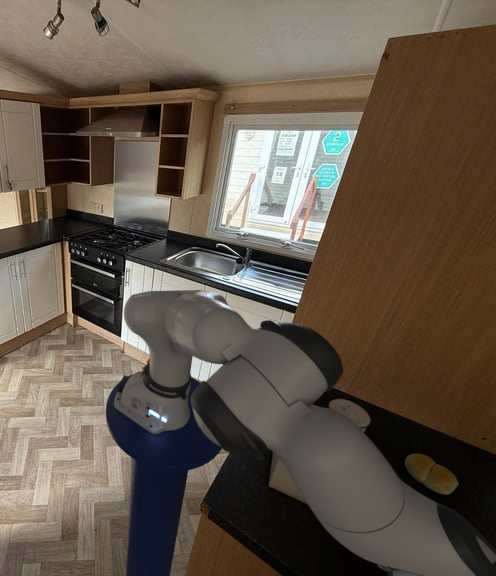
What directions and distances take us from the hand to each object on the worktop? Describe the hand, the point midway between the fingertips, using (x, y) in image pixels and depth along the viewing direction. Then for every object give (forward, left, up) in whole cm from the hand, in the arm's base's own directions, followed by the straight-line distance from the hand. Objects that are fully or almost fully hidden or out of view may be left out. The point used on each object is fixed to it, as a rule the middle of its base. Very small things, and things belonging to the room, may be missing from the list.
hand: (423, 519), depth 61 cm
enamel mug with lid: (-11, +23, -6) cm, 26 cm away
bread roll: (+7, +19, -6) cm, 21 cm away
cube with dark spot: (-19, +4, -6) cm, 20 cm away
